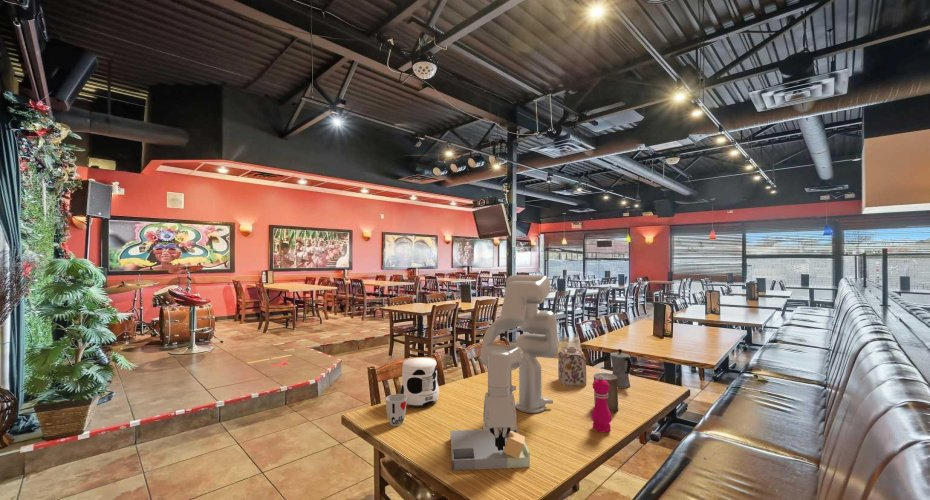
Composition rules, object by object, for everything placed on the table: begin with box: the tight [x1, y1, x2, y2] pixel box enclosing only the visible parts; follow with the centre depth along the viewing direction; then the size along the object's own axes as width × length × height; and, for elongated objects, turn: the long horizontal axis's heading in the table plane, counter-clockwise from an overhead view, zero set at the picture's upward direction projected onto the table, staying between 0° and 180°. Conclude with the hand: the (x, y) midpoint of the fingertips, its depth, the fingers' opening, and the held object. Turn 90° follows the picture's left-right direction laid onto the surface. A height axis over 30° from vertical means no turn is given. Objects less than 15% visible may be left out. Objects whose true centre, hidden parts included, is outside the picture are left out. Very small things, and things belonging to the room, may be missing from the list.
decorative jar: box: [557, 346, 587, 387], centre depth 198 cm, size 12×12×18 cm
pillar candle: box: [593, 372, 619, 413], centre depth 164 cm, size 10×10×15 cm
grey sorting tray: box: [450, 428, 531, 471], centre depth 128 cm, size 24×20×4 cm
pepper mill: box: [591, 375, 613, 433], centre depth 144 cm, size 7×7×20 cm
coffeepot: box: [610, 348, 632, 389], centre depth 192 cm, size 15×9×18 cm, turn 9°
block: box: [503, 431, 526, 459], centre depth 120 cm, size 5×5×5 cm
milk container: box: [399, 357, 440, 408], centre depth 172 cm, size 17×17×18 cm
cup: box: [385, 393, 407, 427], centre depth 150 cm, size 8×8×10 cm
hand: (500, 448), depth 121 cm, fingers closed
